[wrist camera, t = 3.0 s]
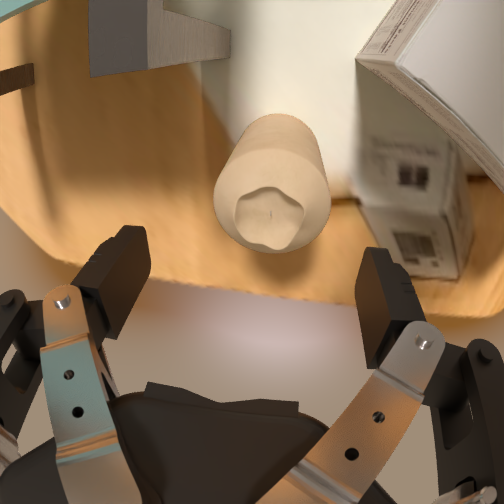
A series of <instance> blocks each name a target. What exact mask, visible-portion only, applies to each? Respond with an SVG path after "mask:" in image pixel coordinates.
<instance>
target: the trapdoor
mask: <svg viewBox="0 0 504 504" xmlns="http://www.w3.org/2000/svg"><path fill="white" fill-rule="evenodd" d="M46 1H48V0H0V23H1V22H3V21H5V20H7V19H9V18H11V17H13V16H15V15H17V14H19V13H21V12H23V11H25V10H27V9H30V8H32V7H34V6H36V5H39V4H41V3H43V2H46Z"/></svg>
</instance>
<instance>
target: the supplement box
mask: <svg viewBox="0 0 504 504" xmlns="http://www.w3.org/2000/svg"><path fill="white" fill-rule="evenodd" d="M355 59H356V61H358V62H359V63H360V64H361V65H363V66H364V67H366V68H367V69H369V70H370V71H371V72H373V73H374V74H376V75H377V76H378V77H380V78H381V79H382V80H384V81H385V82H386V83H388V84H389V85H390V86H392V87H393V88H394V89H396V90H397V91H398V92H399V93H401V94H402V95H403V96H404V97H406V98H407V99H408V100H409V101H411V102H412V103H413V104H414V105H415V106H417V107H418V108H419V109H420V110H421V111H423V112H424V113H425V114H426V115H427V116H428V117H429V118H431V119H432V120H433V121H434V122H435V123H436V124H437V125H438V126H440V127H441V128H442V129H443V130H444V131H445V132H446V133H447V134H448V135H449V136H450V137H451V138H452V139H453V140H454V141H455V142H456V143H457V144H458V145H459V146H460V147H461V148H462V149H463V150H464V151H465V152H466V153H467V154H468V155H469V156H470V157H471V158H472V159H473V160H474V161H475V162H476V163H477V164H478V165H479V166H480V167H481V168H482V170H483V171H484V172H485V173H486V174H487V175H488V176H489V177H490V178H491V180H492V181H493V182H494V183H495V184H496V185H497V187H498V188H499V189H500V190H501V191H502V193H503V194H504V0H396V1H395V2H394V4H393V5H392V6H391V8H390V9H389V11H388V12H387V14H386V15H385V16H384V18H383V19H382V21H381V22H380V23H379V25H378V26H377V28H376V29H375V31H374V32H373V33H372V35H371V36H370V38H369V39H368V41H367V42H366V44H365V45H364V46H363V48H362V49H361V50H360V52H359V53H358V54H357V56H356V57H355Z"/></svg>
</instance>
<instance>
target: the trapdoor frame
mask: <svg viewBox="0 0 504 504" xmlns="http://www.w3.org/2000/svg"><path fill="white" fill-rule="evenodd" d="M230 33H231V30H229V29H226V28H224V27H221V26H218V25H215V24H212V23H209V22H206V21H202V20H199V19H196V18H193V17H189V16H186V15H182V14H179V13H175V12H171V11H167V10H164V9H163V0H89V6H88V34H89V63H90V78H92V77H97V76H103V75H110V74H116V73H124V72H131V71H140V70H148V69H154V68H159V67H164V66H170V65H176V64H183V63H189V62H197V61H204V60H213V59H222V58H230ZM33 84H34V73H33V63H30V64H26V65H21V66H17V67H14V68H10V69H6V70H2V71H0V96H1V95H4V94H6V93H9V92H12V91H15V90H18V89H21V88H24V87H27V86H30V85H33Z"/></svg>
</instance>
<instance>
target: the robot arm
mask: <svg viewBox="0 0 504 504" xmlns="http://www.w3.org/2000/svg"><path fill="white" fill-rule="evenodd" d="M150 270H151V258H150V253H149V247H148V241H147V235H146V230H145V228H144V227H143V226H131V225H124V226H123V227H122V228H121V229H120V231H119V232H118V233H117V234H116V236H115V237H111V238H109V239H108V240H106V241H105V242H103V243H102V244H100V246H99V247H98V248H97V249H96V251H95V252H94V255H92V256H91V257H90V258H89V261H88V262H86V264H85V265H84V266H83V268H82V269H81V270H80V272H79V273H78V274H77V276H76V277H75V278H74V280H73V281H72V282H71V284H70V285H62V286H59V287H56V288H54V289H53V290H51V291H50V292H49V293H48V294H47V295H46V296H45V298H44V300H37V301H27V299H26V297H25V295H24V293H23V292H22V291H20V290H17V289H14V290H9V291H7V292H5V293H3V294H1V295H0V504H397V503H396V502H395V501H394V500H393V499H392V498H391V497H390V496H389V495H388V493H386V491H385V490H384V489H383V488H382V487H381V486H380V485H379V483H378V482H377V481H376V480H375V478H376V477H377V475H378V474H379V473H380V471H381V470H382V468H383V467H384V465H385V464H386V462H387V461H388V459H389V458H390V456H391V454H392V453H393V452H394V450H395V448H396V447H397V445H398V443H399V442H400V440H401V439H402V437H403V435H404V434H405V432H406V430H407V428H408V427H409V425H410V423H411V422H412V420H413V418H414V416H415V414H416V413H417V411H418V409H419V407H420V405H421V404H423V405H427V406H430V410H431V417H432V424H433V432H434V439H435V449H436V459H437V470H438V485H439V486H438V487H439V497H438V498H437V499H435V501H434V502H433V503H432V504H504V363H503V360H502V357H501V355H500V352H499V351H498V349H497V348H496V347H495V346H494V345H493V344H492V343H490V342H489V341H487V340H484V339H475V340H473V341H471V342H470V343H469V345H468V346H467V348H462V347H459V346H456V345H452V344H449V343H446V342H445V340H444V336H443V335H442V333H441V332H440V331H439V329H438V328H436V327H435V326H434V325H432V324H430V323H428V322H427V321H426V319H425V316H424V313H423V310H422V308H421V305H420V302H419V300H418V297H417V294H415V289H414V287H413V285H412V282H411V279H410V277H409V274H408V273H407V272H406V270H405V269H404V268H403V267H402V266H401V265H400V264H397V263H393V261H392V258H391V256H390V253H389V251H388V249H386V248H376V247H366V249H365V251H364V255H363V258H362V262H361V266H360V269H359V273H358V276H357V279H356V284H355V300H356V305H357V310H358V316H359V321H360V327H361V332H362V338H363V344H364V351H365V357H366V364H367V369H376V370H375V371H374V372H373V374H372V375H371V377H370V378H369V379H368V381H367V382H366V383H365V385H364V386H363V387H362V389H361V390H360V392H359V393H358V394H357V396H356V397H355V398H354V399H353V401H352V402H351V403H350V404H349V406H348V407H347V408H346V410H345V411H344V412H343V413H342V414H341V416H340V417H339V418H338V419H337V420H336V422H335V423H334V424H333V425H332V426H331V428H329V427H328V426H326V425H325V424H323V423H322V422H320V421H319V420H317V419H315V418H313V417H311V416H308V415H306V414H303V413H300V412H298V406H299V402H296V401H281V400H269V399H254V400H245V401H236V402H225V403H219V402H215V401H213V400H210V399H208V398H205V397H202V396H200V395H198V394H195V393H193V392H190V391H188V390H185V389H183V388H178V387H173V386H168V385H162V384H157V383H153V382H148V383H147V385H146V388H145V391H144V392H134V393H129V394H125V395H122V396H120V394H119V392H118V390H117V387H116V384H115V382H114V379H113V376H112V373H111V370H110V367H109V363H108V360H107V357H106V354H105V351H104V348H103V345H102V342H103V340H104V338H110V339H115V340H117V338H118V335H119V334H120V331H121V330H122V327H123V325H124V323H125V321H126V319H127V317H128V315H129V314H130V312H131V309H132V308H133V306H134V303H135V302H136V300H137V298H138V296H139V294H140V292H141V290H142V288H143V286H144V284H145V282H146V281H147V279H148V277H149V274H150ZM11 344H13V345H14V347H15V348H16V350H17V351H16V353H15V355H14V357H13V358H12V360H11V362H10V364H9V366H8V367H7V369H6V371H5V373H4V374H3V372H2V368H1V365H2V360H3V358H4V356H5V354H6V353H7V351H8V349H9V347H10V346H11ZM42 378H43V381H44V387H45V393H46V399H47V405H48V410H49V415H50V420H51V424H52V429H53V433H54V437H53V438H51V439H49V440H48V441H46V442H45V443H43V444H42V445H40V446H38V447H36V448H35V449H33V450H32V451H30V452H28V453H27V454H25V455H24V456H22V457H21V455H20V453H19V452H18V443H17V438H18V435H19V433H20V430H21V428H22V425H23V422H24V420H25V418H26V415H27V413H28V410H29V408H30V406H31V403H32V401H33V399H34V396H35V394H36V392H37V389H38V387H39V385H40V383H41V381H42ZM469 403H470V405H469ZM470 407H471V409H470ZM471 411H472V414H471ZM472 416H473V419H472Z"/></svg>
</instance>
